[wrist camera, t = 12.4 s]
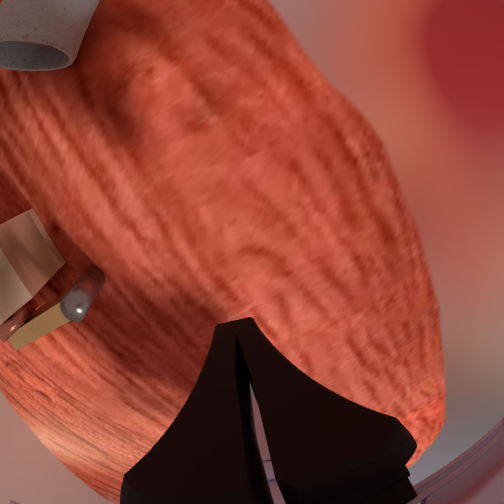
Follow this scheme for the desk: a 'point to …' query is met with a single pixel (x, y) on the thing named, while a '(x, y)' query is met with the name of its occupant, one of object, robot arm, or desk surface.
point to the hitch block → (24, 261)
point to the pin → (17, 319)
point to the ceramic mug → (42, 32)
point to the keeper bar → (61, 308)
